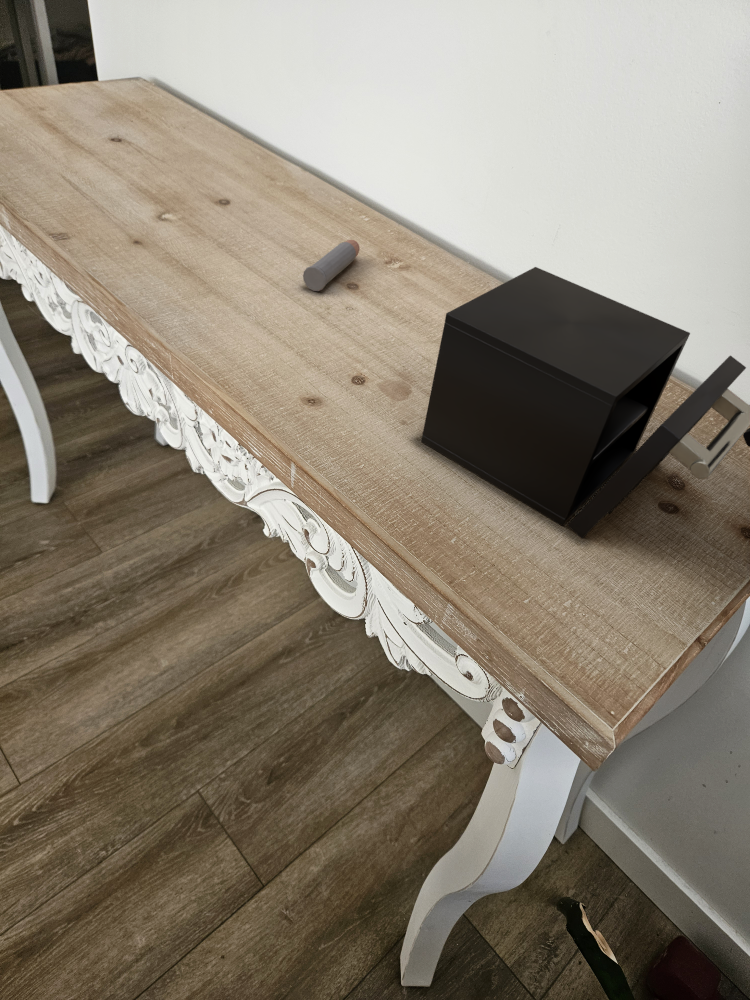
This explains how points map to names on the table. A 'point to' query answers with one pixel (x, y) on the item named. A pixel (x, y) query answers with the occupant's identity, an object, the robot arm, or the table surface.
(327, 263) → the bullet cartridge
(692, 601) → the table surface
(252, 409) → the table surface
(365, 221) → the table surface
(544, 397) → the oven
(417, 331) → the table surface
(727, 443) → the oven door
